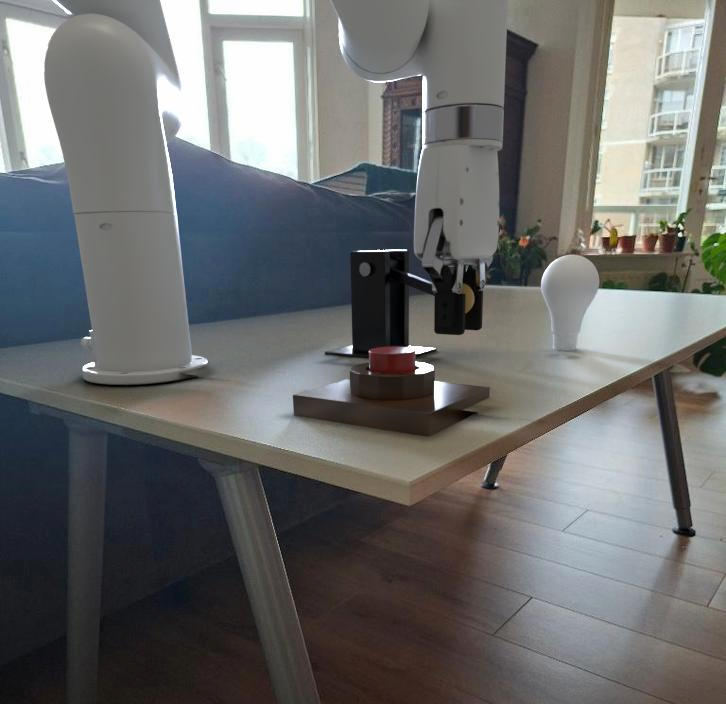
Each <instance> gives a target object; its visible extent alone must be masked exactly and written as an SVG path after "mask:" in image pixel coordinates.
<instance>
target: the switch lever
mask: <svg viewBox="0 0 726 704" xmlns="http://www.w3.org/2000/svg"><path fill="white" fill-rule="evenodd" d="M397 265H398V260H395V259H392V258H390V283H393V281H394V280H395V281H398V282H400V283H403V284H405V285H408V286H409V288H410V287H411V288H413V289H416V290H418V291H421V292H423V293H426V294H428V295H431V296H433V297H435V294H434V293H433V291H432V281H430V280H427V279H425V278H422V277H419V276H418V275H414V274H413V273H412V274H411V273H410V272H409V273H407V272H404V271H402V270H399V269H397ZM461 294H466V298H465V314H466V313H467V312H468V311H470V309H471V308H472V307H473V304H474V300H475V297H474V293H473V291H472V289H471V288H470V287H469V286H468V285H466V284H464V283H462V291H461Z"/></svg>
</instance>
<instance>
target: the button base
mask: <svg viewBox="0 0 726 704" xmlns="http://www.w3.org/2000/svg"><path fill="white" fill-rule="evenodd" d="M490 389H491V387H490V386H483V385H473V384H465V383H456V382H454V383H453V382H445V381H436V369H435V366H434V365H432V364H429V363H426V362H421V361H420V362H419V361H416V370H415V371H412V372H403V373H379V372H370V371H369V362H363V363H359V364H356V365H352V366H351V367H350V369H349V378H346V379H342V380H339V381H335V382H332V383H329V384H325V385H322V386H319V387H316V388H315V387H314V388H312V389H307V390H305V391H301V392H298V393H294V394H292V405H293V407H292V409H293V416H295V417H301V418H308V419H315V420H321V421H325V422H326V421H327V422H334V423H341V424H347V425H353V426H359V427H365V428H370V429H377V430H385V431H389V432H395V433H402V434H409V435H414V436H421V437H427V438H429V437H431V436H433V435H435V434H437V433H440V432H441V431H443V430H446V429H447V428H449V427H451V426H454V425H455V424H457V423H460V422H462V421H464V420H467V418H470V417H472V416H474V415H476V414H479V411H471V410H465V409H467V408H469V407H472V406H474V405H476V404H478V403H480V402H482V401H485V400H487V399H489V398H490V395H491V394H490V391H491V390H490Z"/></svg>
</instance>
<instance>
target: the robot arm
mask: <svg viewBox="0 0 726 704" xmlns="http://www.w3.org/2000/svg"><path fill="white" fill-rule="evenodd" d="M52 1H53V2H54V3H55V4H56V5H58V6H59V7H60V8H61V9H63V10H64V12H65V14H66V17H67V19H66V20H64V21H63V22H62V23H61V24H60V25H59V26H58V27H57V28H56V29H55V30H54V32H53V33H52V35H51V37H50V39H49V41H48V43H47V47H46V49H45V53H44V59H43V76H44V77H43V78H44V79H43V80H44V86H45V93H46V99H47V102H48V106H49V110H50V113H51V118H52V120H53V123H54V127H55V131H56V133H57V137H58V142H59V145H60V149H61V153H62V158H63V162H64V166H65V171H66V177H67V184H68V188H69V195H70V201H71V206H72V207H71V208H72V214H73V216H74V223H75V229H76V230H75V231H76V236H77V243H78V248H79V257H80V261H81V262H80V263H81V268H82V269H81V270H82V275H83V281H84V288H85V293H86V300H87V307H88V313H89V320H90V326H91V330H88V333H89V336H85V337H83V338H81V339H80V346H81V348H82V349H83V350H85V351H91V352H92V359H93V362H90V363H87V364H85V365H84V366H82V368H81V374H82V375H81V376H82V379H83V380H85V381H86V382H89V383H92V384H98V385H108V386H109V385H114V386H118V385H119V386H125V385H126V386H128V385H129V386H131V385H133V386H134V385H149V384H151V385H152V384H159V383H161V384H162V383H169V382H175V381H182V380H186V379H191V378H194V377H198V375H197V374H196V375H195V374H188V372H192V371H196V370H199V369H202V368H204V367H206V366H207V365H208V359H207V358H205V357H203V356H201V355H194V354H193V352H192V344H191V334H190V327H189V326H190V325H189V314H188V306H187V305H188V304H187V296H186V287H185V278H184V269H183V259H182V258H183V257H182V249H181V240H180V230H179V222H178V221H179V220H178V213H177V205H176V197H175V196H176V195H175V188H174V179H173V173H172V167H171V161H170V155H169V151H168V146H167V145H168V144H169V143H171V142H172V141H173V139H174V138H175V137H176V136H177V134H178V132H179V131H180V129H181V126H182V123H183V120H184V114H185V97H184V92H183V85H182V81H181V77H180V73H179V70H178V69H179V68H178V65H177V62H176V58H175V54H174V53H175V52H174V51H173V46H172V42H171V38H170V34H169V30H168V27H167V22H166V19H165V14H164V10H163V6H162V3H161V0H52ZM329 2H330V4H331V5H332V8H333V9H334V12H335V13H336V15H337V18H338V40H339V41H338V42H339V48H340V52H341V55H342V57H343V60H344V62H345V64H346V65H347V67H348V68H349V70H350V71H351V72H352V73H354V74H355V75H356V76H357V77H359V78H361V79H363V80H365V81H367V82H373V83H386V82H387V83H388V82H394V81H398V80H402V79H408V78H412V77H413V78H414V77H419V76H422V149H421V153H420V158H419V164H418V170H417V179H416V186H415V187H416V188H415V202H414V223H413V253H414V256H415V257H416V258H417V259H418V260H420V261H421V266H422V268H423V269H424V270H425V272H427V274H428V275H429V277H430V280H431V282H432V291H433V293H434V294H435V296H434V307H433V308H434V311H433V312H434V315H433V322H434V323H433V327H434V328H433V331H434V333H435V334H436V335H450V336H462V335H464V334H465V331H480V330H482V328H483V312H484V290H485V288H486V274H487V272H488V269H489V267H490V265H491V264H492V263H493V260H494V254H495V252H497V249H498V243H499V233H500V174H499V159H498V158H499V157H498V152H499V151H501V150H503V142H504V141H503V140H504V139H503V138H504V113H505V112H504V111H505V110H504V107H505V90H506V89H505V85H506V63H507V62H506V61H507V59H506V57H507V35H508V33H507V32H508V13H509V12H508V11H509V10H508V9H509V0H329ZM466 266H467V267H466ZM451 268H452V270H451ZM462 283H464V284H466V285H468V286H469V287H470V288H471V289H472V291H473V293H474V297H475V300H474V304H473V307H472V308H471V309H470V311H468V312H467V313H466V314H465V298H466V294H461V291H462Z"/></svg>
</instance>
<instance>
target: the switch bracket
mask: <svg viewBox="0 0 726 704" xmlns="http://www.w3.org/2000/svg"><path fill="white" fill-rule="evenodd" d="M390 258H392V259H395V260H398V265H397V269H399V270H402V271H404V272H407V273H409V274H410V249H385V250H384V249H383V250H380V249H377V250H351V251H349V261H350V262H349V263H350V303H351V306H350V307H351V341H352V343H351V345H349V346H344V347H340V348H336V349H331V350H325V351H324V355H326V356H337V357H346V358H347V357H348V358H357V359H358V358H359V359H366V360H367V359H368V360H369V350H370V349H373V348H379V347H409V348H413V349H415V350H416V358H418V357H421V356H425V355H429V354H431V353H435V352H437V351H438V349H437V348H436V347H423V346H411V345H410V286H408V285H405V284H403V283H400V282H398V281H395V280H394V281H393V283H390Z"/></svg>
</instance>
